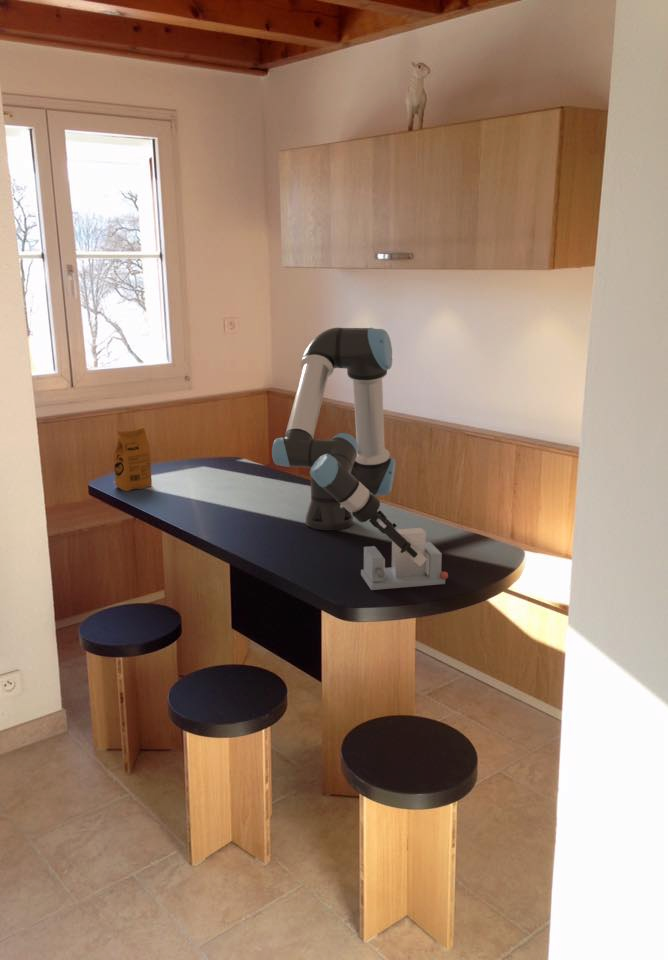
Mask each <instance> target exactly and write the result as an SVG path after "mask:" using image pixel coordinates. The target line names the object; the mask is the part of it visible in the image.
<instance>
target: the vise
mask: <svg viewBox="0 0 668 960" xmlns="http://www.w3.org/2000/svg"><path fill="white" fill-rule="evenodd" d="M442 556H443V554H442V552H441V551H440V550H439V549H438V548H437V547H436V546H435V545H434V544H433V543H432V542H431V541H430V540H429V541H426V550H425V557H426V558H427V560H426V561H425V576H413V577H400V578H395V576H394V575H393V574H392V566H391V567H385V578H383V581H378V582H372V581H371V580H370V578H369V577H368V575H367V574H366V572H365V571H364V569H360V576H361V577H362V579H363V580H364V582H365V583H366V584H367V586H368V587H369V589H370V590H371V591H375V590H377V591H378V590H388V589H389V590H390V589H400V588H412V587H413V588H414V587H423V586H426V587H427V586H434V585H435V586H436V585H437V586H438V585H446V580H447V579H448V578H449V574H448V572H447V571H442V558H443V557H442Z"/></svg>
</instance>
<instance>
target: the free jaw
mask: <svg viewBox="0 0 668 960" xmlns="http://www.w3.org/2000/svg"><path fill="white" fill-rule="evenodd" d="M385 568H386V559H385V557H384V556H383V555H382V553H381V552H380V550H378V548H377V547H376V546H375V545H373V546H372V545H371V546H363V570H364V571H365V572H366V574H367V575H368V577H369V578H370V580H371V581H372V582H378V581H383V578H385Z"/></svg>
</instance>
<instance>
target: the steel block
mask: <svg viewBox="0 0 668 960" xmlns="http://www.w3.org/2000/svg"><path fill="white" fill-rule="evenodd" d="M394 529H395V528H394ZM395 530H396V531H397V532H398V533H399V534H400V535H401V536H402V537H403V538H404V539H405V540H407V541H408V542H409V543H411V544H412V545H413V546H414V547H415V548H416V549H417V550H418V551H419V552H420V553H421V554H422V555H423V556H424V557H425V550H426V542H427V540H426V538H427V532H426V531H425V530H424V529H423V528H422V527H415V528H414V527H412V528H397V529H395ZM400 551H401V548H400V547H399V546H397V545H396V544H395V543H394V542H393V541H392V540H391V567H392V574H393V575H394V576H395V578H400V577H413V576H425V562H424V563H423V564H422V565H421V566H419V565H418V564H416V563H415V562H414V561H413V560H412V559H411V558H410V557H409V556H408V555H407V554H406V553H405V552H403V553H401V552H400Z"/></svg>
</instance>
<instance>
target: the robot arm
mask: <svg viewBox="0 0 668 960" xmlns="http://www.w3.org/2000/svg"><path fill="white" fill-rule="evenodd" d="M392 365H393V347H392V341H391V338H390V335H389V333H388V332H387V331H386V329H383V328H374V327H331V328H329V329H325V330H324V331H322V332H321V333H320V334H318V335H316V336H315V337H314V338H313V339H312V341H310V343H309V344H308V346H307V347H306V348H305V350H304V352H303V354H302V357H301V360H300V369H301V375H300V378H299V382H298V385H297V389H296V394H295V397H294V401H293V404H292V407H291V408H292V409H291V411H290V412H291V413H290V415H289V420H288V423H287V426H286V430H285V435H284V437H282V436H281V437H277V438H275V439H274V441H273V443H272V448H271V455H272V456H271V457H272V460H273V463H274V465H276V466H281V467H288V468H310V469H309V470H310V471H309V474H310V504H309V505H308V508H307V509H308V510H307V512H306V515H305V525H306V526H307V527H308V526H309V528H310V527H311V529H313V530H319V531H340V530H345V529H348V528H351V527H352V525H353V524H354V518H355V519H356V520H357V521H358V522H359V523H365V522H367V521H369V522H370V524H371V525H372V526H373V527H374V528H375V529H378V530H379V532H381V534H383V535H384V534H385V535H386V536H387V537H388V538H389V539H390V540H391V542H392V541H393V542H394V543H395V544H396V545H397V546H399V547H400V548H401V551H400V552H401V553H403V552H405V553H406V554H407V555H408V556H409V557H410V558H411V559H412V560H413V561H414V562H415V563H416V564H418V565H419V566H421V565H422V564H423V563H424V562H425V561H426V560H427V558H426V557H424V556H423V555H422V554H421V553H420V552H419V551H418V550H417V549H416V548H415V547H414V546H413V545H412V544H411V543H409V542H408V541H407V540H405V539H404V538H403V537H402V536H401V535H400V534H399V533H398V532H397V531H396V530H395V529H398V528H397V524H396V523H395V522H393V523H392V522H391V521H390V520H389V519H388V518H387V516H386V515H385V514H384V513H383V512H382V511H381V509H380V506H381V502H380V499H378V497H377V496H388V495H389V494H390V493H391V492H392V488H393V483H394V479H395V474H396V473H395V472H396V466H397V465H396V459H394V458H391V456H390V451H389V450H388V449H386V448H385V424H384V423H385V422H384V421H385V419H384V398H383V395H384V394H383V379H384V378H385V376H387V374H388V370H390V369H391V368H392ZM335 369H345V370H346V369H347V372H346V373H347V374H346V375H347V377H348V378H349V379H351V380H352V386H353V389H352V390H353V404H354V405H353V406H354V421H355V422H354V424H355V437H354V436H353V435H352V434H350V433H346V432H340V433H337V434H335V435H334V436H333V437H332V438H331V439H314V435H315V432H316V428H317V424H318V419H319V416H320V411H321V407H322V402H323V399H324V395H325V391H326V388H327V387H326V386H327V383H328V378H329V377H330V376H331V375H332V374H333V372H334V370H335Z"/></svg>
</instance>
